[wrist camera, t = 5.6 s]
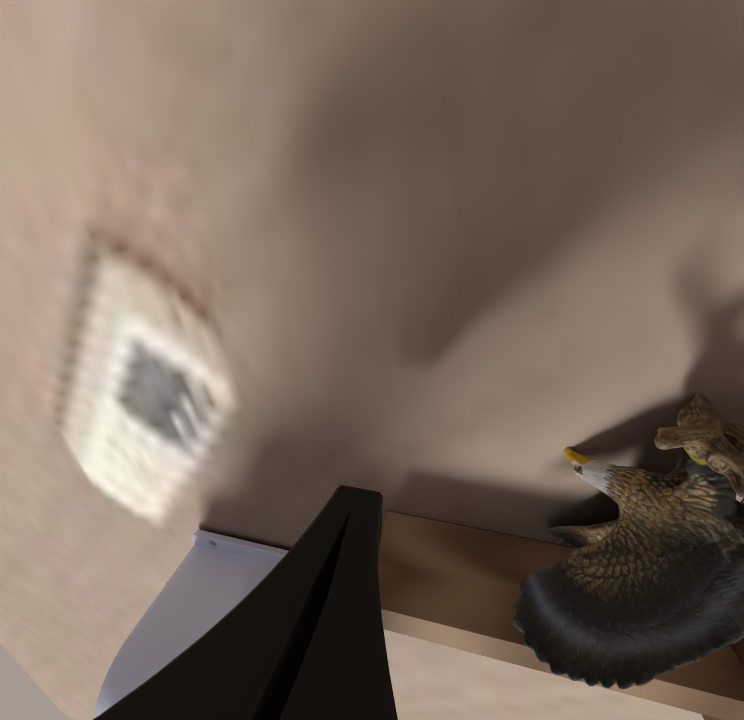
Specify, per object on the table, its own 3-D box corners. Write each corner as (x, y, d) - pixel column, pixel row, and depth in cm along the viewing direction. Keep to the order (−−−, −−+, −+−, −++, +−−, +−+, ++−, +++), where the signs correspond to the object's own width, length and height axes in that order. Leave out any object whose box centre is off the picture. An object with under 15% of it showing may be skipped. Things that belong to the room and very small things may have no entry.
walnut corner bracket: (385, 553, 19) (365, 647, 16) (394, 265, 12) (360, 311, 8) (693, 622, 16) (763, 759, 13) (973, 297, 9) (1367, 395, 5)
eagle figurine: (530, 367, 11) (461, 569, 14) (893, 553, 5) (640, 840, 8) (667, 368, 14) (587, 535, 17) (999, 487, 8) (785, 713, 11)
